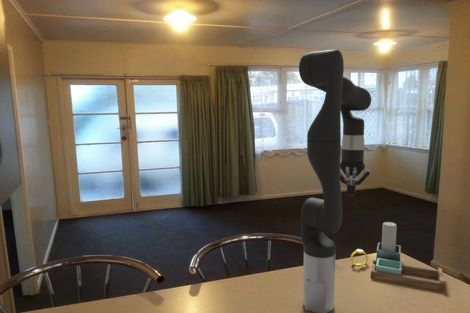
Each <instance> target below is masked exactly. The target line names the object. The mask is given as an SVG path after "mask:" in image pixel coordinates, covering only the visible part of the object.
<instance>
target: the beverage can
mask: <svg viewBox="0 0 470 313" xmlns="http://www.w3.org/2000/svg"><path fill="white" fill-rule="evenodd" d="M397 227H398V226H397V224H396V223H395V222H392V221H385V222H383V223H382V230H381V231H382V232H381V243H382V249H381V250H382V251H389V252H395V246H396V245H397Z"/></svg>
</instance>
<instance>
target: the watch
mask: <svg viewBox="0 0 470 313" xmlns="http://www.w3.org/2000/svg"><path fill="white" fill-rule="evenodd" d="M356 254H364V255H365V260H364V261H363V262H361V263H358V262H357V263H355V262H354V260H353V258H354V255H356ZM368 258H369V257H368V255H367V254H366V252H365V251H364V250H363V249H361V248H357V249H355V250H354V251H353V252H352V253H351V254H350V261H351V263H352V265H354V266H360V267H361V266H362V264H363V265H366V264H367V263H368Z"/></svg>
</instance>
